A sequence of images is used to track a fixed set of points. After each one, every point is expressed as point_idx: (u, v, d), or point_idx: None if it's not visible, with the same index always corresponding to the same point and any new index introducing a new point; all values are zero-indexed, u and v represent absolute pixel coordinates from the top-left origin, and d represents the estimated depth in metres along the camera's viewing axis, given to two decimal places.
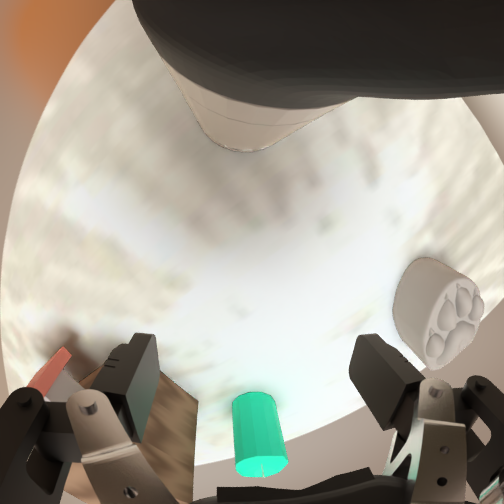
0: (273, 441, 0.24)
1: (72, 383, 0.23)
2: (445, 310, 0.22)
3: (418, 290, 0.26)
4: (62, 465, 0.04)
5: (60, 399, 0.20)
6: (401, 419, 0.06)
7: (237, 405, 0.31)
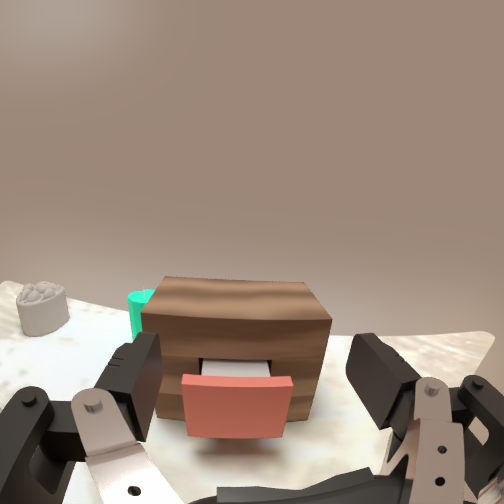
0: (129, 308, 0.42)
1: None
2: (30, 299, 0.39)
3: (32, 320, 0.39)
4: (66, 464, 0.04)
5: None
6: (397, 418, 0.06)
7: None
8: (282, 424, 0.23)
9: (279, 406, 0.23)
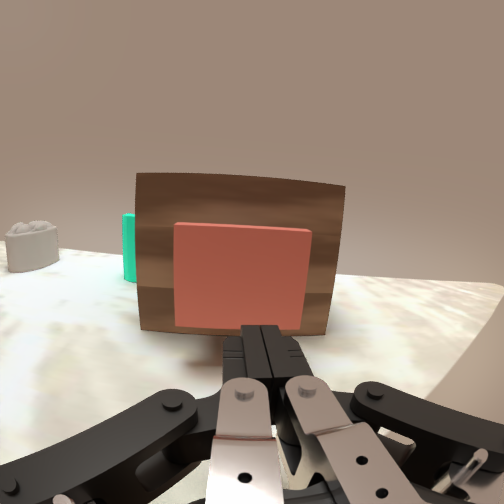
0: None
1: None
2: (19, 230, 0.36)
3: (19, 252, 0.36)
4: (182, 470, 0.05)
5: None
6: (277, 415, 0.07)
7: None
8: (300, 303, 0.21)
9: (296, 267, 0.20)
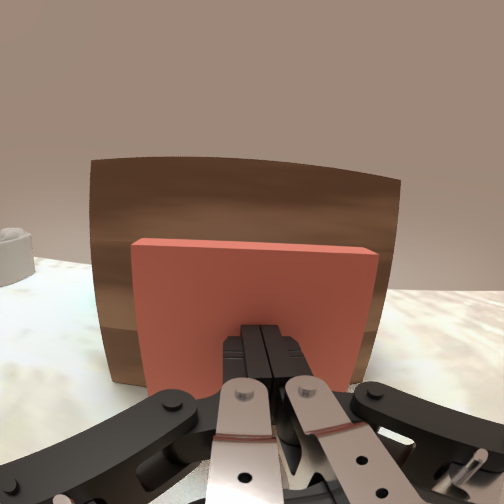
0: None
1: None
2: None
3: None
4: (182, 470, 0.05)
5: None
6: (277, 415, 0.07)
7: None
8: (350, 367, 0.12)
9: (350, 315, 0.11)
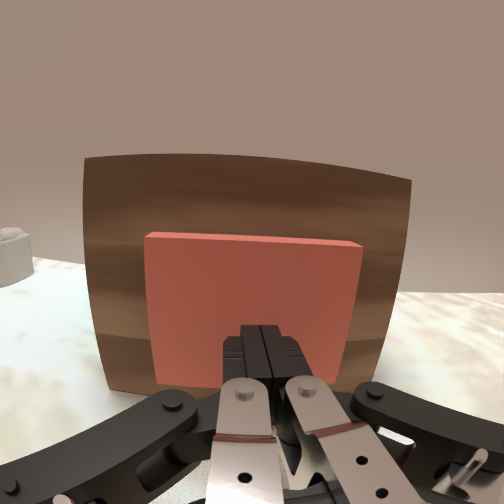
0: None
1: None
2: None
3: None
4: (182, 470, 0.05)
5: None
6: (277, 415, 0.07)
7: None
8: (339, 350, 0.13)
9: (338, 301, 0.13)
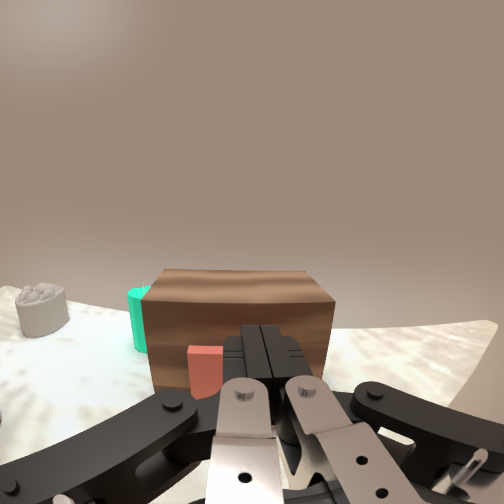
0: None
1: None
2: (29, 299, 0.39)
3: (31, 320, 0.38)
4: (182, 469, 0.05)
5: None
6: (277, 415, 0.07)
7: None
8: None
9: None
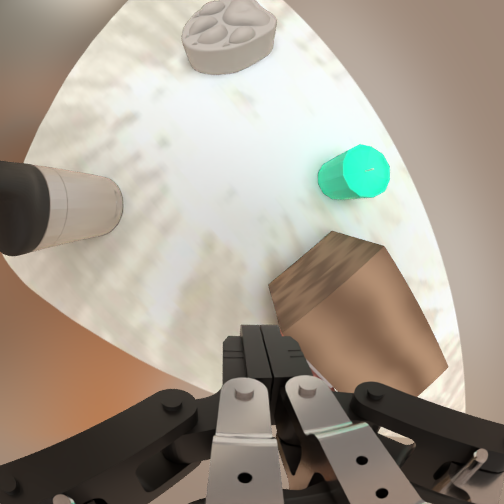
0: (338, 160, 0.28)
1: None
2: (204, 40, 0.26)
3: (202, 62, 0.30)
4: (182, 470, 0.05)
5: None
6: (277, 415, 0.07)
7: (328, 194, 0.36)
8: None
9: None
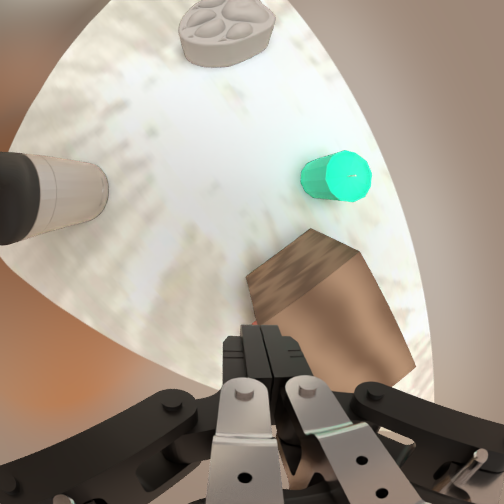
0: (322, 163, 0.30)
1: None
2: (201, 34, 0.25)
3: (197, 54, 0.29)
4: (182, 470, 0.05)
5: None
6: (277, 415, 0.07)
7: (310, 193, 0.37)
8: None
9: None
